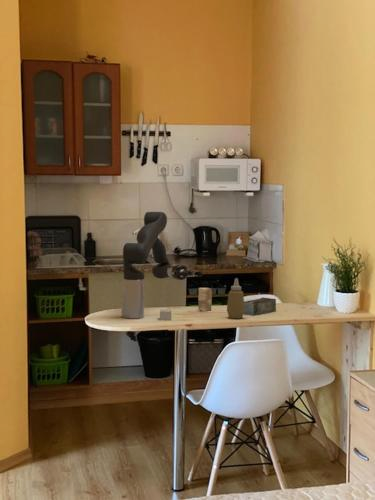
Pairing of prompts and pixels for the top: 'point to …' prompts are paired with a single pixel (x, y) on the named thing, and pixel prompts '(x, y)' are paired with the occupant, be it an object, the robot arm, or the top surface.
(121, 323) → the top surface
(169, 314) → the grey block
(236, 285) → the squeeze bottle
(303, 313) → the top surface
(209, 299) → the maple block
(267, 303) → the beverage carton
